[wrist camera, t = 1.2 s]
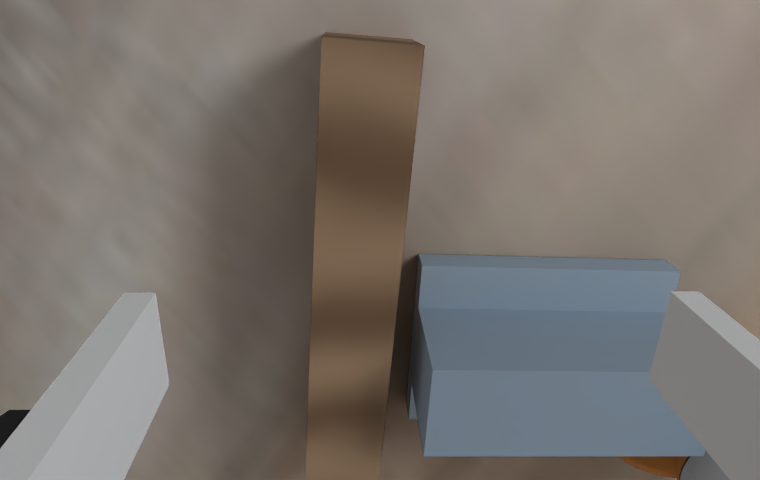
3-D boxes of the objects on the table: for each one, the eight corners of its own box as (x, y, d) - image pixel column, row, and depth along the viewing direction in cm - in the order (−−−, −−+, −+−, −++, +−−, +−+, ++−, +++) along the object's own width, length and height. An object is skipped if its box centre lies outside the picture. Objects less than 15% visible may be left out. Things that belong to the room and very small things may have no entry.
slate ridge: (418, 253, 30) (437, 321, 23) (666, 260, 31) (750, 326, 24) (406, 402, 34) (419, 495, 27) (626, 403, 35) (689, 493, 28)
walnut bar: (326, 31, 26) (321, 37, 21) (411, 39, 26) (424, 45, 21) (310, 435, 35) (304, 500, 30) (373, 437, 35) (376, 501, 31)
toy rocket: (573, 429, 37) (679, 629, 22) (647, 289, 35) (819, 410, 20) (712, 483, 37) (908, 716, 23) (794, 347, 35) (1070, 509, 20)
